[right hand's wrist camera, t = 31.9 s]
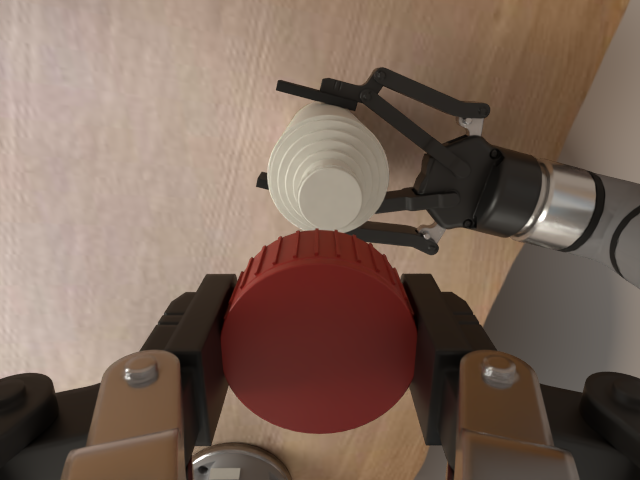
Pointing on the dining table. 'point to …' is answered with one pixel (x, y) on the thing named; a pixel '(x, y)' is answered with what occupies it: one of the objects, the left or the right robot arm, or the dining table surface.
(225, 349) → the cap
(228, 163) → the dining table surface
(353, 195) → the bottle
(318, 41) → the dining table surface
